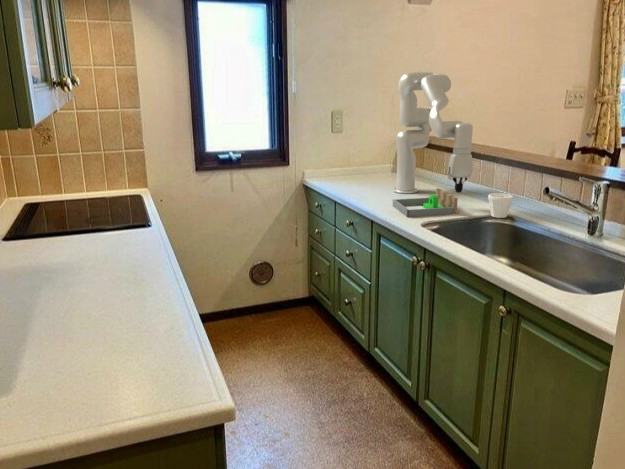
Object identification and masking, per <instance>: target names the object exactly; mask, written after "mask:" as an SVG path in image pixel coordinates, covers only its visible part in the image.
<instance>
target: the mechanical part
mask: <svg viewBox="0 0 625 469" xmlns="http://www.w3.org/2000/svg"><path fill="white" fill-rule="evenodd" d="M428 198H429V203H423V205H422V208H423V209H428V208H444V207H442V206H440V205H439V204H438V198H437V196H436V194H430V195H429V197H428Z"/></svg>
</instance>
